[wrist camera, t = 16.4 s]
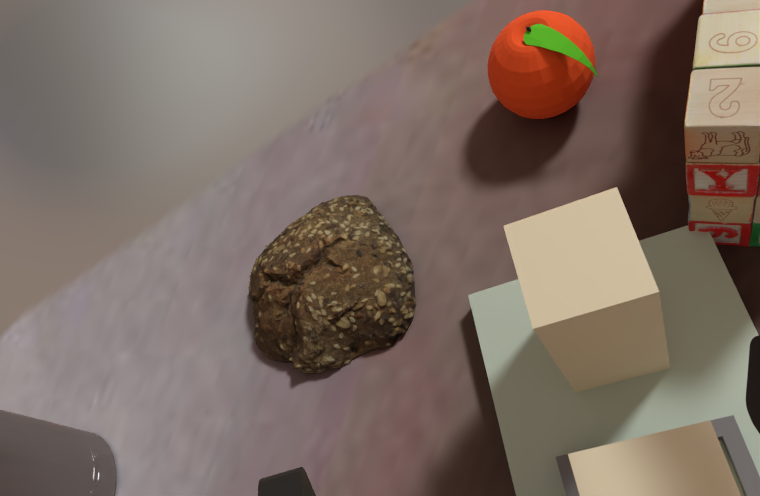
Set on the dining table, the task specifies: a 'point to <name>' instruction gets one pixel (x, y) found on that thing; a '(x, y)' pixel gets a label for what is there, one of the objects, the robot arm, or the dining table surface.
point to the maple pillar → (657, 465)
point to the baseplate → (630, 404)
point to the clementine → (541, 64)
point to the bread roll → (332, 287)
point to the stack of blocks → (725, 124)
